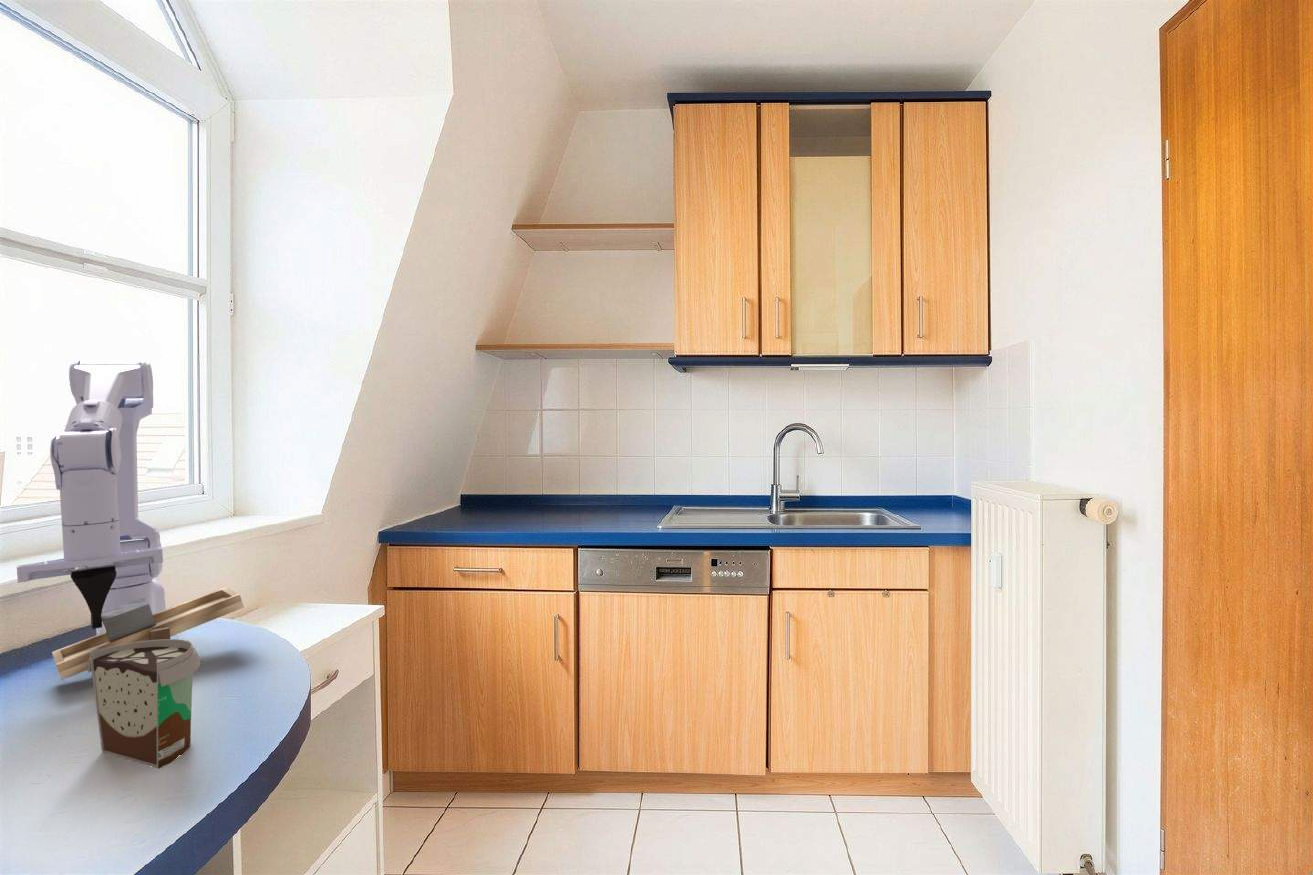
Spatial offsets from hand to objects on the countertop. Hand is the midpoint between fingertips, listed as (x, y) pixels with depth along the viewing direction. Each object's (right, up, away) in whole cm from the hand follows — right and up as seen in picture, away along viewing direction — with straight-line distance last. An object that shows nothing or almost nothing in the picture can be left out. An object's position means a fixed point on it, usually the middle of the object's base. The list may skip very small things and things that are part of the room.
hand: (97, 626), depth 89 cm
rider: (+3, -2, +3) cm, 4 cm away
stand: (+5, -7, +4) cm, 9 cm away
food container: (+23, -7, -20) cm, 32 cm away
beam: (+4, -2, +4) cm, 6 cm away
